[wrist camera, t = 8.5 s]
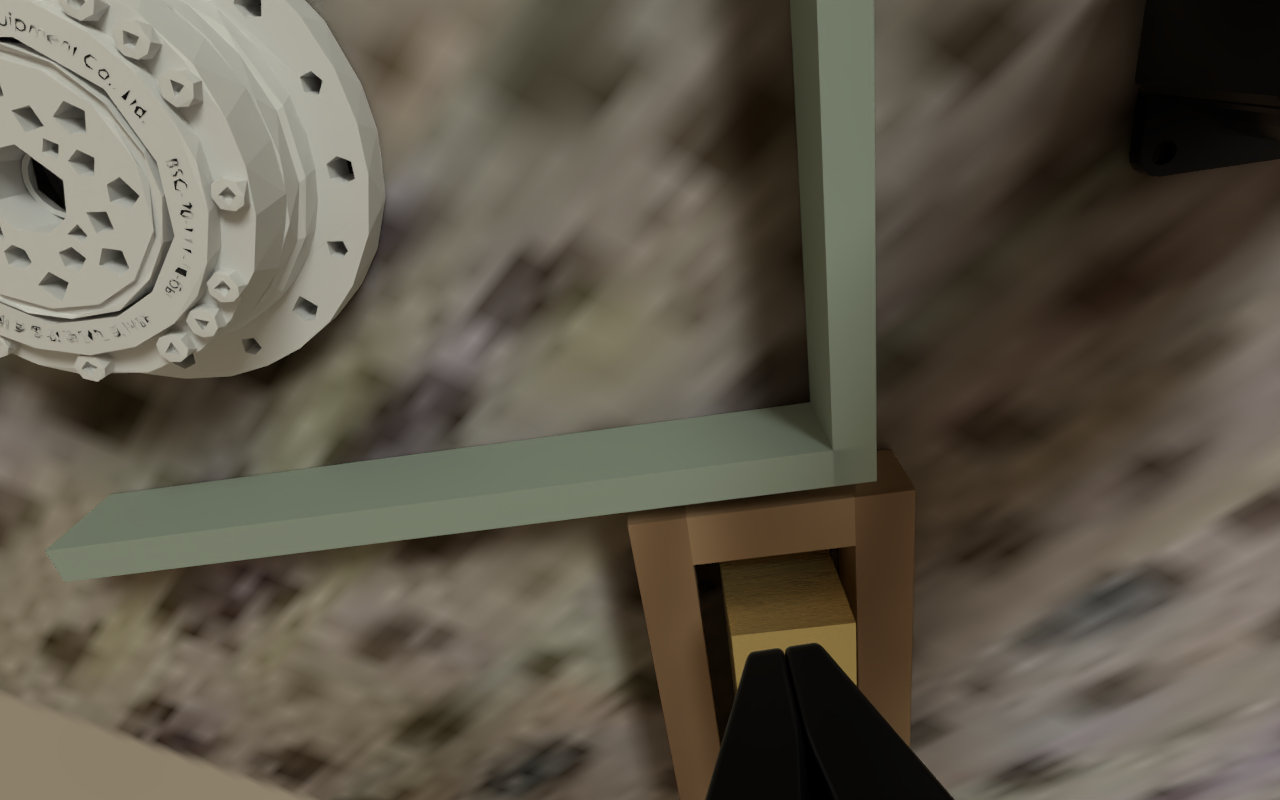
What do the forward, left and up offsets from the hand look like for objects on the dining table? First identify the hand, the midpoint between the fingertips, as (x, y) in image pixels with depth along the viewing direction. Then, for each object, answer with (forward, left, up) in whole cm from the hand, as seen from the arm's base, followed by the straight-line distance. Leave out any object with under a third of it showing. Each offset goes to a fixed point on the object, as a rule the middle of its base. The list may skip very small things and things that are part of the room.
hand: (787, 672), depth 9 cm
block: (-1, +10, -11) cm, 15 cm away
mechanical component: (+12, -6, -11) cm, 17 cm away
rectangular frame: (-1, +10, -11) cm, 15 cm away
